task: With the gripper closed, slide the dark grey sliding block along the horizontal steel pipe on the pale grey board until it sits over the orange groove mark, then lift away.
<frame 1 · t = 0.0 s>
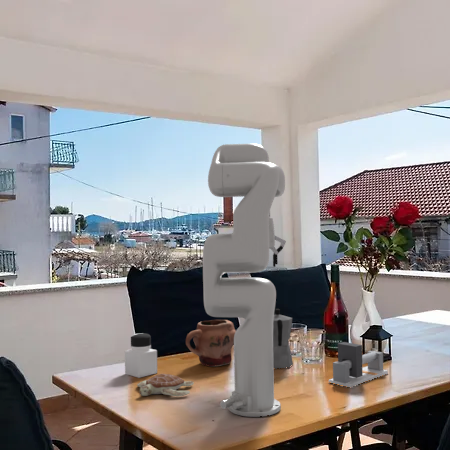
hand: (259, 266, 175), 31 cm above the table, tool pointing down, fingers open, 9 cm apart
decorative turtle: (163, 393, 146), on the table
pipe rig: (359, 378, 155), on the table
coffeepot: (278, 366, 170), on the table
brown clay mug: (212, 365, 173), on the table
medicine bottle: (141, 374, 164), on the table
dark grey sliding block: (350, 359, 152), point 6 cm above the table, slide at -4.5 cm
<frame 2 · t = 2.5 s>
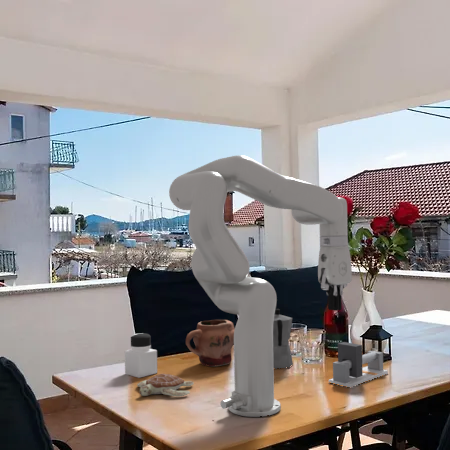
hand: (334, 309, 147), 21 cm above the table, tool pointing down, fingers closed
nothing on the table moved.
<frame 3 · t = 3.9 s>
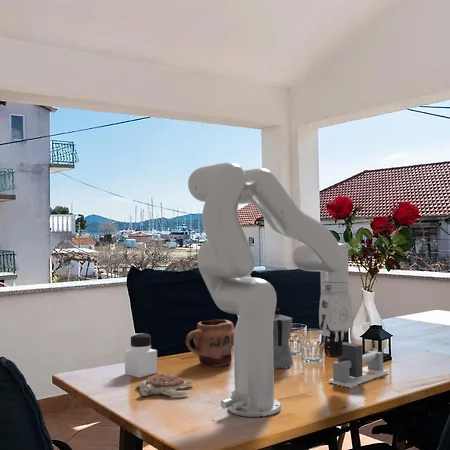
hand: (335, 355, 147), 9 cm above the table, tool pointing down, fingers closed
nothing on the table moved.
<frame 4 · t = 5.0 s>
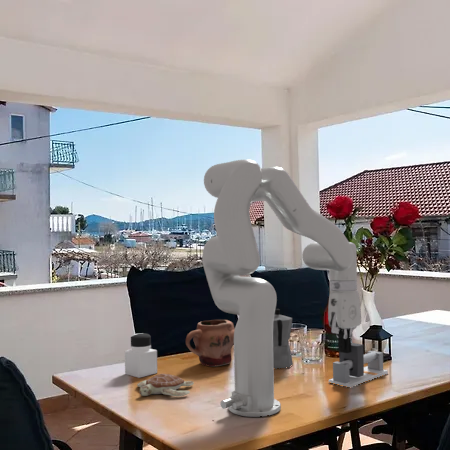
hand: (344, 351, 150), 9 cm above the table, tool pointing down, fingers closed
dark grey sliding block: (351, 359, 152), point 6 cm above the table, slide at -3.8 cm, touching gripper
everything else where it was.
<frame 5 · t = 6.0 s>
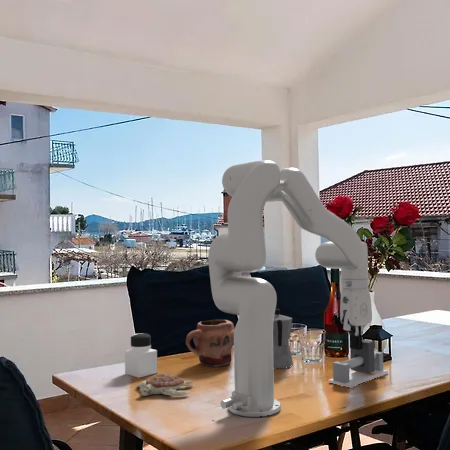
hand: (356, 348, 154), 9 cm above the table, tool pointing down, fingers closed
dark grey sliding block: (362, 355, 156), point 6 cm above the table, slide at 1.9 cm, touching gripper
everything else where it was.
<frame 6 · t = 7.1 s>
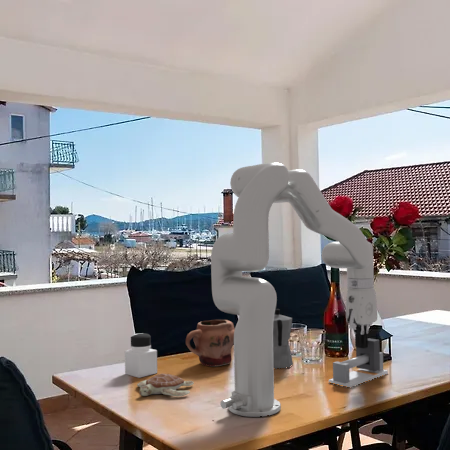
hand: (361, 347, 156), 9 cm above the table, tool pointing down, fingers closed
dark grey sliding block: (367, 353, 158), point 6 cm above the table, slide at 4.9 cm, touching gripper
everything else where it was.
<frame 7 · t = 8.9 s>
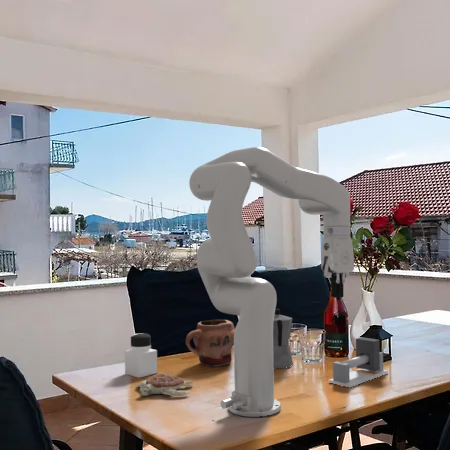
hand: (337, 297, 153), 24 cm above the table, tool pointing down, fingers closed
dark grey sliding block: (367, 353, 158), point 6 cm above the table, slide at 4.9 cm
everything else where it was.
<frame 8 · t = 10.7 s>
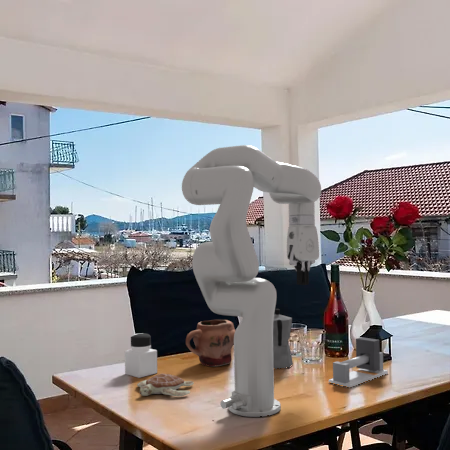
hand: (302, 284, 157), 27 cm above the table, tool pointing down, fingers closed
nothing on the table moved.
at the end: dark grey sliding block slide at 4.9 cm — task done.
